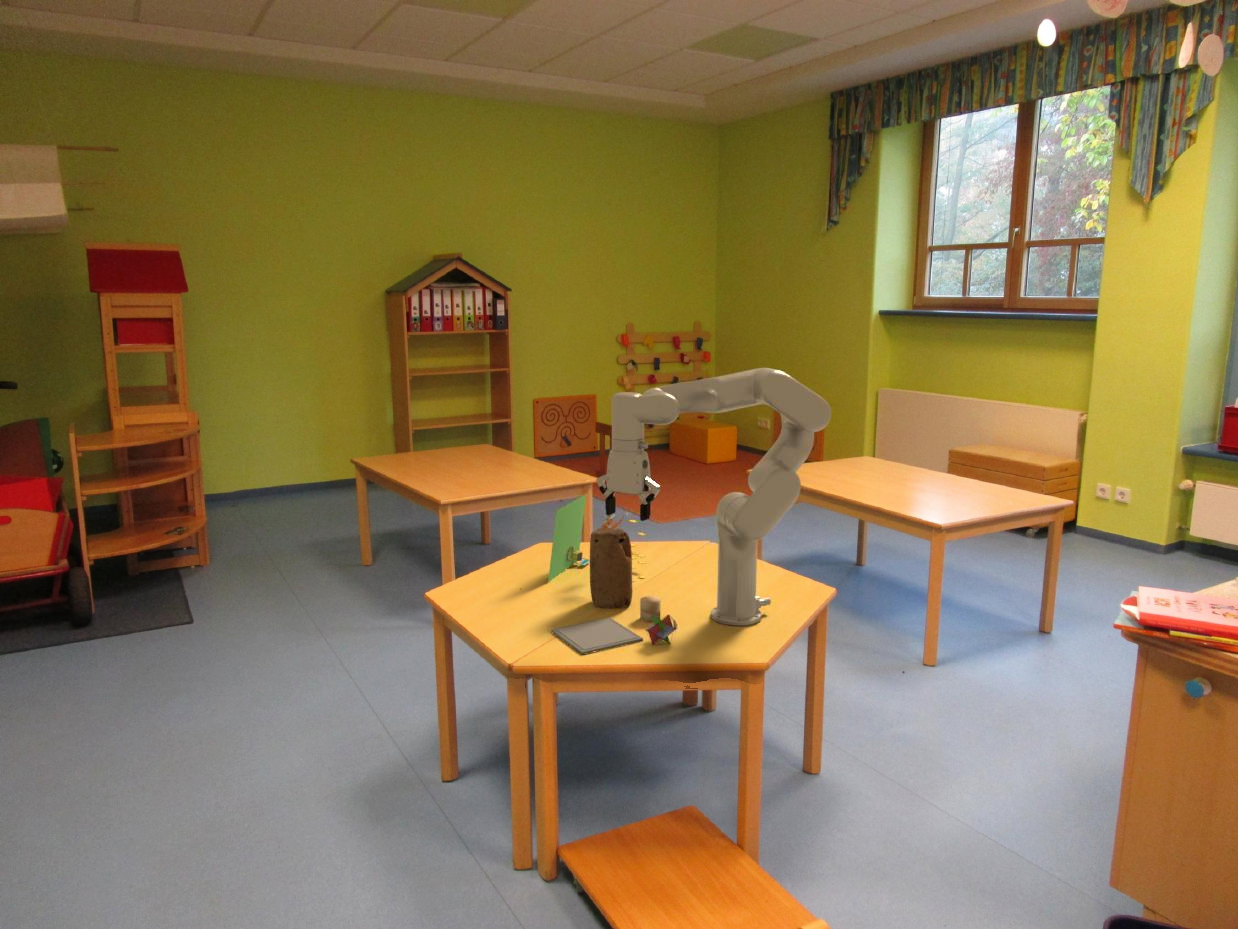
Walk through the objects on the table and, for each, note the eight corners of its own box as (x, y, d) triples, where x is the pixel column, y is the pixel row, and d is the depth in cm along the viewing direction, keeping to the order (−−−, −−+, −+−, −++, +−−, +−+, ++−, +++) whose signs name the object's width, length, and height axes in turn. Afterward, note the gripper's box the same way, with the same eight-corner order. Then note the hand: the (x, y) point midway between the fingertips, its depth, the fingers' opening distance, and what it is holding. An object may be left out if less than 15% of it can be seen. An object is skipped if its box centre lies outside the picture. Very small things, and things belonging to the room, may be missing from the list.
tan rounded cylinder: (653, 613, 222) (653, 595, 221) (664, 620, 218) (664, 600, 217) (636, 617, 220) (636, 598, 219) (647, 623, 216) (647, 604, 215)
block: (588, 607, 227) (587, 532, 223) (595, 597, 234) (594, 525, 230) (629, 610, 225) (629, 535, 221) (635, 600, 232) (635, 527, 228)
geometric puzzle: (652, 643, 198) (668, 612, 199) (633, 634, 203) (650, 603, 205) (671, 655, 202) (687, 624, 204) (652, 646, 208) (669, 616, 209)
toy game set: (629, 605, 239) (641, 522, 233) (546, 583, 246) (555, 501, 241) (654, 581, 259) (665, 503, 253) (576, 561, 266) (585, 485, 261)
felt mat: (608, 619, 219) (608, 616, 219) (642, 640, 205) (642, 637, 205) (550, 631, 211) (550, 628, 211) (582, 654, 197) (582, 652, 197)
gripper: (668, 447, 204) (667, 518, 207) (606, 440, 213) (606, 508, 216) (650, 451, 198) (650, 525, 201) (588, 444, 207) (588, 515, 210)
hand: (627, 516), depth 209 cm, fingers open, 9 cm apart
